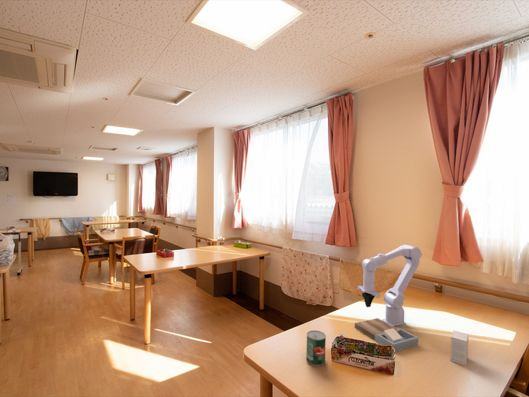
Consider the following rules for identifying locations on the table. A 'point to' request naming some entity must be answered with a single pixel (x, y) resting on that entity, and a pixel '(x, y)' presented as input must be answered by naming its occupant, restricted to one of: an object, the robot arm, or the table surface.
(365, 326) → the board
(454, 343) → the small box
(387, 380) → the table surface
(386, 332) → the tile
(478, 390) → the table surface
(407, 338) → the box
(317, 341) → the canned tomato
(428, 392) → the table surface
